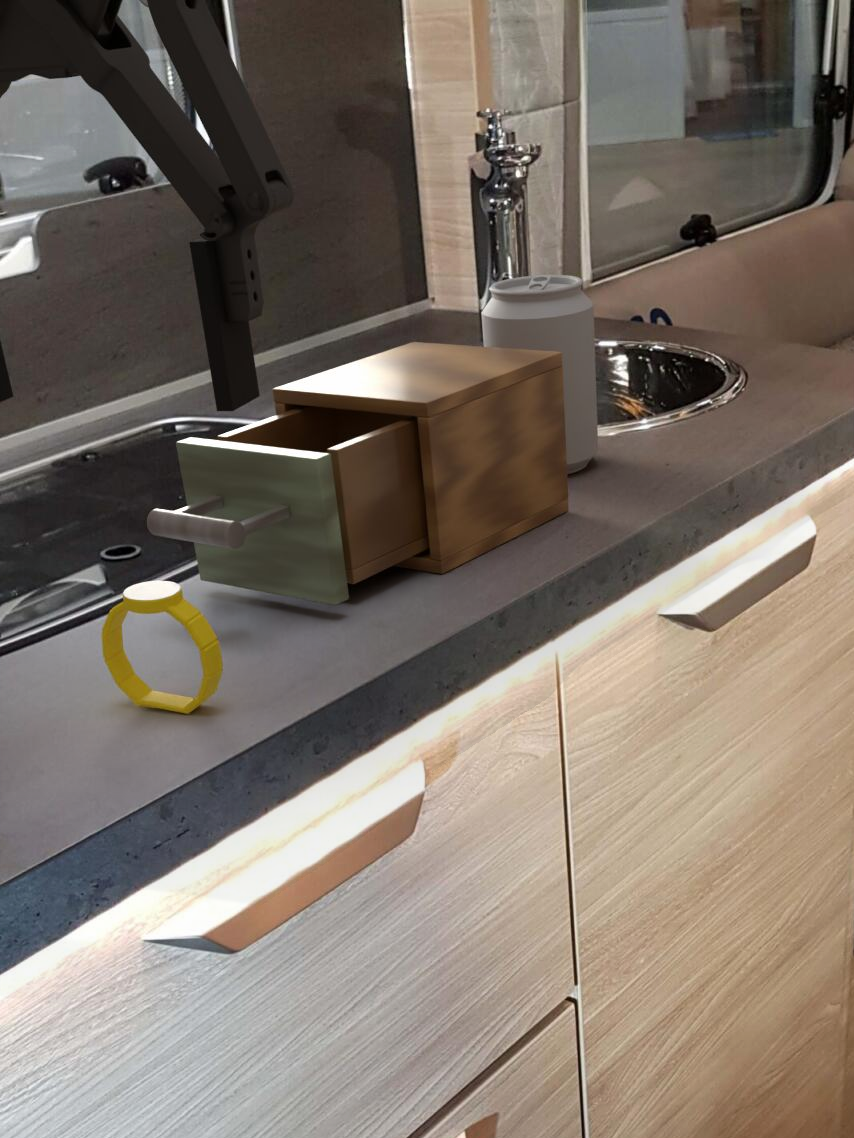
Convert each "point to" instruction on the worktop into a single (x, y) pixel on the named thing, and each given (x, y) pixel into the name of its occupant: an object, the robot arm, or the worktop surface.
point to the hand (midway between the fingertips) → (111, 404)
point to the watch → (171, 600)
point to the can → (552, 345)
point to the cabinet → (464, 436)
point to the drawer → (302, 501)
